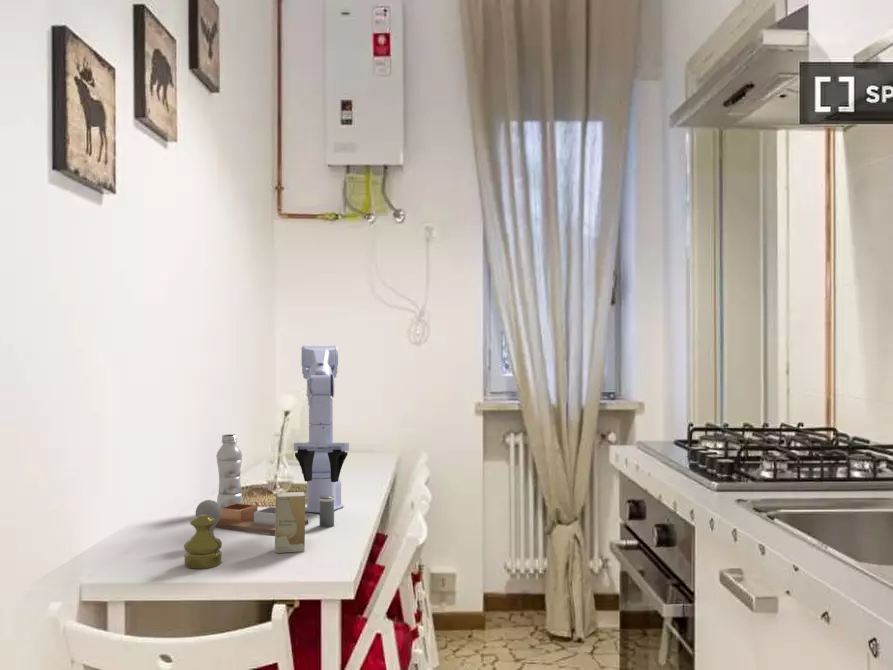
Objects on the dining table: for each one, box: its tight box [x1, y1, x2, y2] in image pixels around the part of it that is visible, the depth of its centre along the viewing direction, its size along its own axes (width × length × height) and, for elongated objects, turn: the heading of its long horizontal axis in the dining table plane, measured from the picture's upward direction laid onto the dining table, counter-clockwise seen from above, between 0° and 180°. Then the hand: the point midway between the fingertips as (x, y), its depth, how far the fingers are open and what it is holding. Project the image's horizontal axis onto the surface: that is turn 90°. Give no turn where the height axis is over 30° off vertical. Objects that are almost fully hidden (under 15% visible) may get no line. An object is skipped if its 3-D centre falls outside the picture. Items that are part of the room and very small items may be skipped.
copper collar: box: [219, 503, 258, 523], centre depth 204 cm, size 6×6×3 cm
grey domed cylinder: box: [319, 495, 335, 528], centre depth 200 cm, size 4×4×7 cm
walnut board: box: [214, 519, 309, 536], centre depth 201 cm, size 12×22×1 cm, turn 65°
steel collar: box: [254, 506, 276, 527], centre depth 199 cm, size 6×6×3 cm
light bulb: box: [195, 499, 221, 536], centre depth 183 cm, size 5×5×10 cm
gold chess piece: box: [183, 515, 223, 570], centre depth 168 cm, size 7×7×10 cm
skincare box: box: [274, 491, 306, 554], centre depth 178 cm, size 6×4×12 cm
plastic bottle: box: [216, 433, 244, 508], centre depth 216 cm, size 6×7×20 cm
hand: (321, 481), depth 198 cm, fingers open, 7 cm apart
